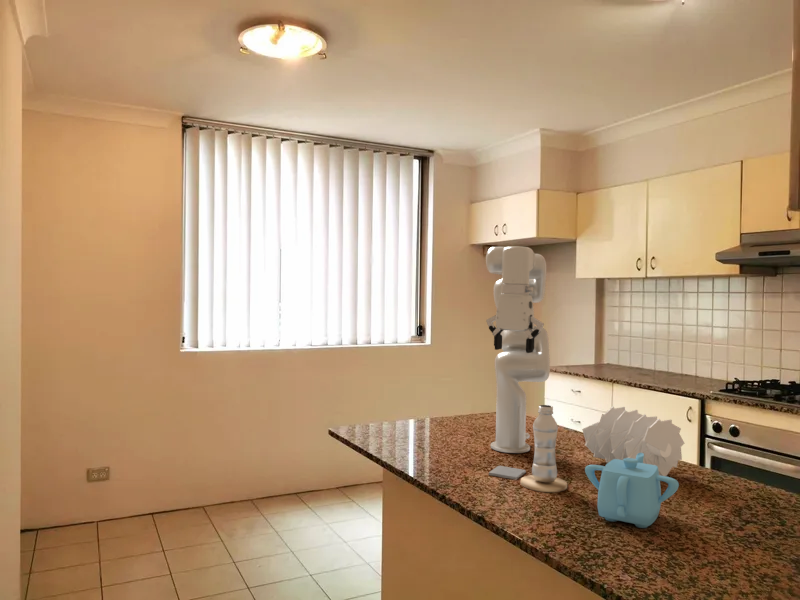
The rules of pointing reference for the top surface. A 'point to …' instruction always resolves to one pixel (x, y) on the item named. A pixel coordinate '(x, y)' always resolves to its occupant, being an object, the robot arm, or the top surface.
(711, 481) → the top surface
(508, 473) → the slate coaster
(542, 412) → the silver metal bottle
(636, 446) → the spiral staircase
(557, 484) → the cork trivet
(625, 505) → the teapot
